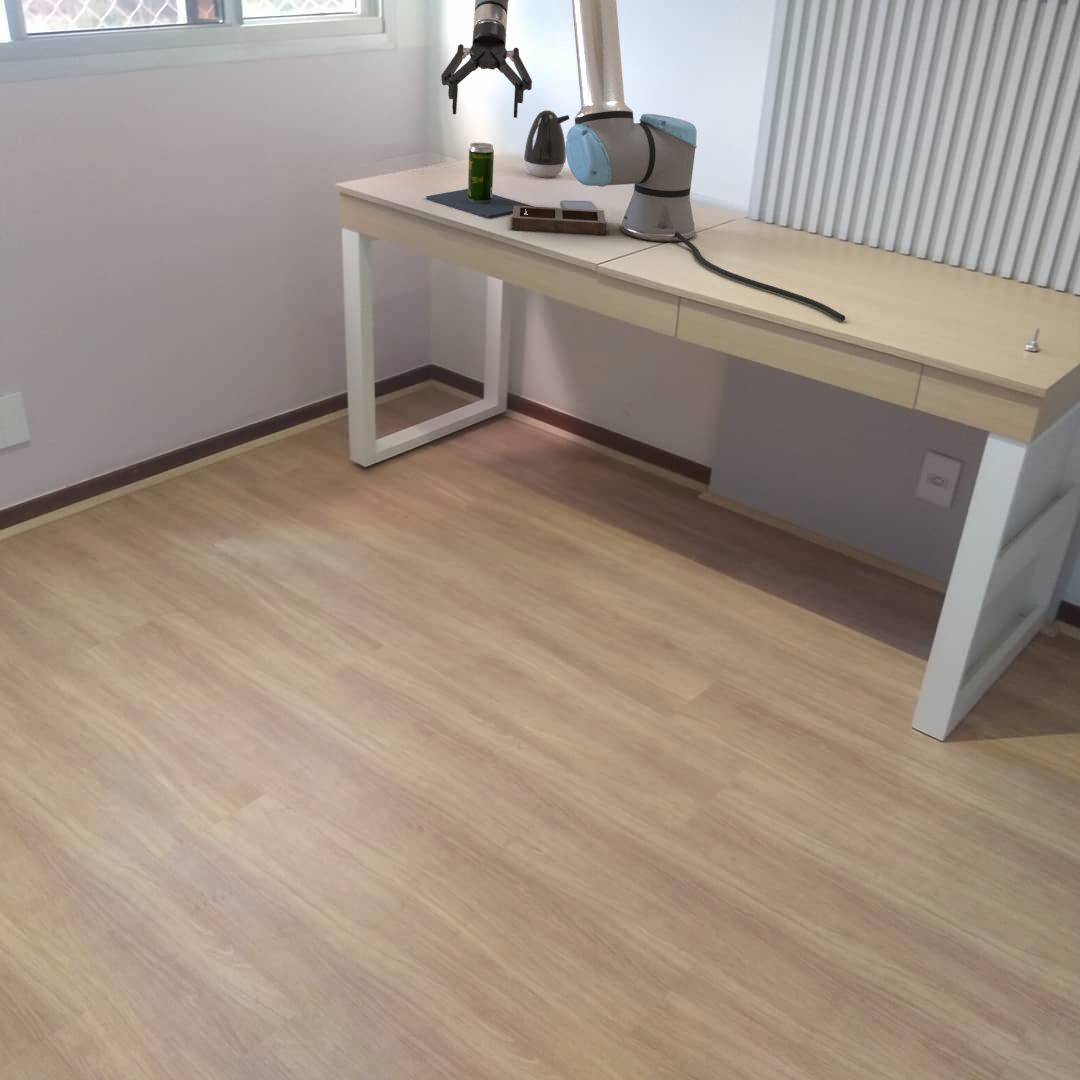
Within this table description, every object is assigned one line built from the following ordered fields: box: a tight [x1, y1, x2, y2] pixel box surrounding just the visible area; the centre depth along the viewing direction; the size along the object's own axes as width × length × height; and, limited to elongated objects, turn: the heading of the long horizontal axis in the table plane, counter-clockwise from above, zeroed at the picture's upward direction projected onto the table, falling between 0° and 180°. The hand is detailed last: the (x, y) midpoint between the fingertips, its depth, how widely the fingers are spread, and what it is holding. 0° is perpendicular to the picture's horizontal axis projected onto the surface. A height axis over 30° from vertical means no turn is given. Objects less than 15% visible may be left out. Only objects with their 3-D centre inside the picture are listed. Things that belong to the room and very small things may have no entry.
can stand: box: [511, 205, 607, 236], centre depth 244 cm, size 19×10×2 cm, turn 90°
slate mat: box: [425, 188, 535, 219], centre depth 257 cm, size 20×14×1 cm
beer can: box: [467, 142, 495, 204], centre depth 254 cm, size 5×5×12 cm
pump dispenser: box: [523, 109, 570, 179], centre depth 281 cm, size 10×10×15 cm
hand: (484, 112), depth 258 cm, fingers open, 13 cm apart
